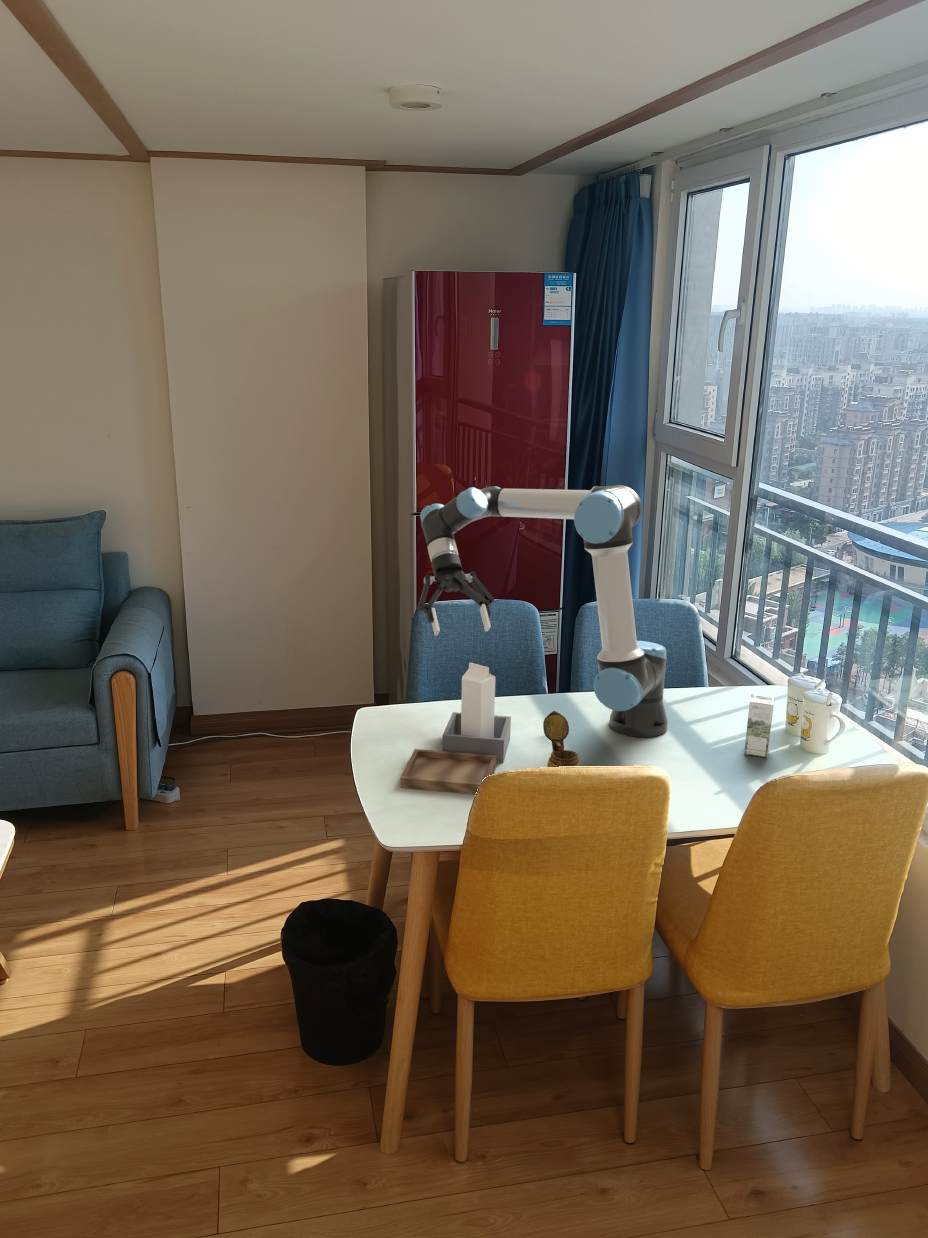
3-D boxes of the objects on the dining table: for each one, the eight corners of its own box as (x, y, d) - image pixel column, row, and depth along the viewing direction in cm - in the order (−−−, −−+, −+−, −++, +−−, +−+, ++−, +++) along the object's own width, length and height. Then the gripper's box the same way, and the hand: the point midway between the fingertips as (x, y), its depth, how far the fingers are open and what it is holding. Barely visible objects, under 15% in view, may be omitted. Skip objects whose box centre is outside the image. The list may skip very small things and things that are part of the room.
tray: (496, 765, 235) (496, 755, 234) (487, 795, 219) (487, 785, 219) (414, 758, 238) (414, 749, 237) (400, 787, 222) (400, 777, 222)
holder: (510, 738, 250) (510, 716, 248) (503, 763, 236) (503, 740, 234) (452, 733, 252) (452, 712, 250) (442, 758, 238) (442, 735, 236)
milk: (474, 741, 248) (476, 659, 242) (493, 747, 245) (496, 664, 238) (460, 749, 243) (461, 665, 237) (479, 755, 240) (481, 670, 234)
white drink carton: (768, 749, 246) (774, 695, 242) (767, 758, 241) (773, 704, 237) (745, 746, 248) (750, 692, 244) (743, 755, 243) (749, 700, 238)
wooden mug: (568, 780, 227) (572, 708, 222) (588, 808, 215) (593, 732, 209) (531, 784, 225) (534, 711, 220) (549, 811, 213) (553, 735, 208)
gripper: (485, 563, 262) (504, 633, 253) (396, 569, 254) (412, 641, 245) (493, 549, 256) (513, 620, 247) (402, 554, 248) (419, 628, 239)
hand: (463, 631), depth 246 cm, fingers open, 13 cm apart
